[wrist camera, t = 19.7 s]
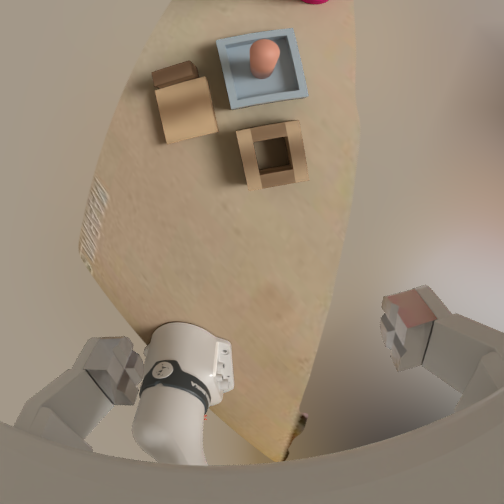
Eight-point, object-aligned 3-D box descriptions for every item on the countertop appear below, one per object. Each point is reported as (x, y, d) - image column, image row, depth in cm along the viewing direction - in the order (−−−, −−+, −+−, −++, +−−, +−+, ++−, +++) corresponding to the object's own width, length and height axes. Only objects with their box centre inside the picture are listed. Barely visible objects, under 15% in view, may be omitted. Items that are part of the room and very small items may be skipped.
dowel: (275, 77, 33) (282, 62, 24) (252, 80, 33) (253, 67, 24) (270, 57, 31) (276, 37, 22) (248, 61, 32) (246, 41, 23)
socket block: (303, 174, 40) (309, 180, 36) (248, 184, 40) (248, 191, 37) (294, 120, 36) (299, 120, 33) (237, 130, 37) (235, 131, 33)
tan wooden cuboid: (218, 131, 37) (216, 132, 35) (171, 142, 38) (167, 144, 36) (207, 78, 34) (204, 76, 32) (160, 91, 34) (154, 90, 32)
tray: (304, 98, 35) (308, 96, 32) (232, 110, 36) (231, 109, 33) (289, 34, 30) (292, 28, 28) (218, 45, 31) (215, 40, 29)
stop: (199, 79, 34) (192, 74, 29) (165, 89, 34) (154, 86, 30) (196, 67, 33) (189, 60, 28) (162, 77, 33) (151, 72, 29)
